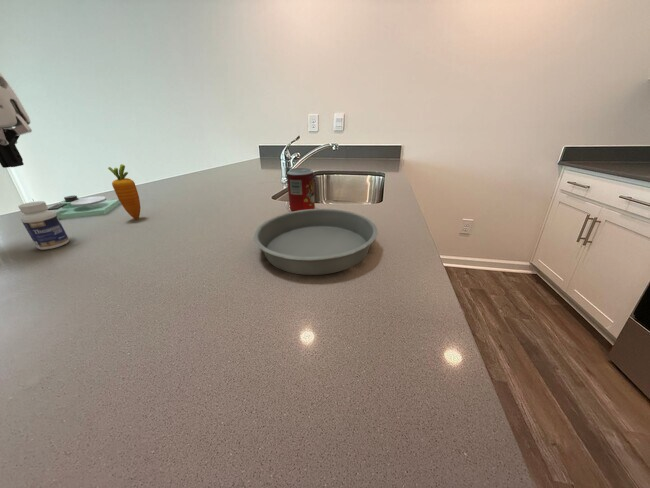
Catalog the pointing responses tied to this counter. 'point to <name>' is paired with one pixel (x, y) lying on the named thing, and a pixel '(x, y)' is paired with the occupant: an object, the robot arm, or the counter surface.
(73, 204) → the weighing plate
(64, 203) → the scale display
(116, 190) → the carrot
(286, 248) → the cake pan
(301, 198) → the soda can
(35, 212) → the pill bottle
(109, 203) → the scale
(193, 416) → the counter surface
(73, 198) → the tare button
